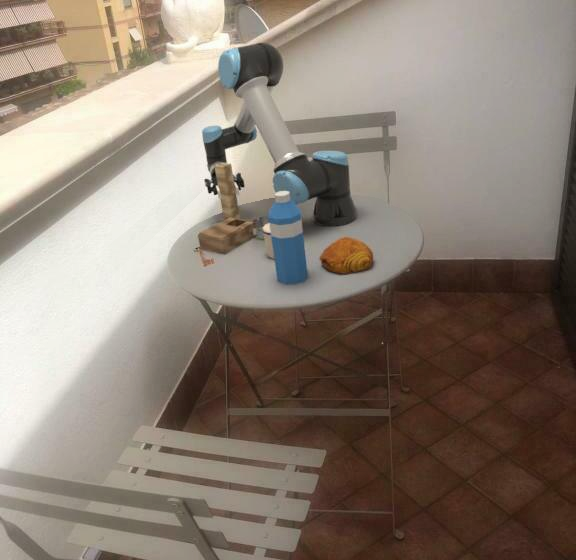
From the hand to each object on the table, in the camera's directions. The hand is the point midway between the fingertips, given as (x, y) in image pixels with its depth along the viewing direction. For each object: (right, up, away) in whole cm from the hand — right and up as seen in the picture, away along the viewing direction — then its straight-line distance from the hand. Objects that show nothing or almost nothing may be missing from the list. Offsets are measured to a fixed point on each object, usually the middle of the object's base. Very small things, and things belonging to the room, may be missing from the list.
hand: (228, 193), depth 195 cm
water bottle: (+21, -29, -31) cm, 47 cm away
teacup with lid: (+18, -21, -14) cm, 31 cm away
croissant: (+37, -25, -27) cm, 52 cm away
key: (-6, -22, -11) cm, 25 cm away
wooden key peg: (0, -8, +10) cm, 13 cm away
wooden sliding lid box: (0, -17, -3) cm, 17 cm away
